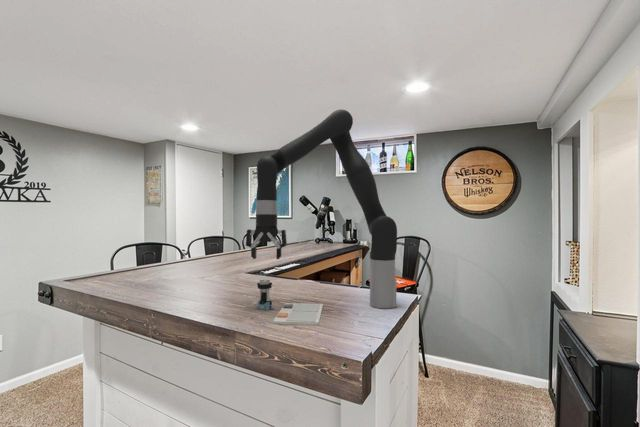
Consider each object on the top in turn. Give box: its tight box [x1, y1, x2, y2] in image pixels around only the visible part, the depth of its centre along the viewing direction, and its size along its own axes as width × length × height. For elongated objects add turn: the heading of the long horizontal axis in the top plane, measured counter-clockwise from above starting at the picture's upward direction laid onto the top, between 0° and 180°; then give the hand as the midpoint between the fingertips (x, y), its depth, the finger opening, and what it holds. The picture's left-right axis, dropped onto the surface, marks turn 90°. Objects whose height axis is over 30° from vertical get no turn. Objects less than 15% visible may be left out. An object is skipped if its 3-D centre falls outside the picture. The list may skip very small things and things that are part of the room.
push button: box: [256, 279, 276, 311], centre depth 110 cm, size 7×5×10 cm
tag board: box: [272, 302, 324, 326], centre depth 104 cm, size 14×20×1 cm
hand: (266, 258), depth 110 cm, fingers open, 8 cm apart
